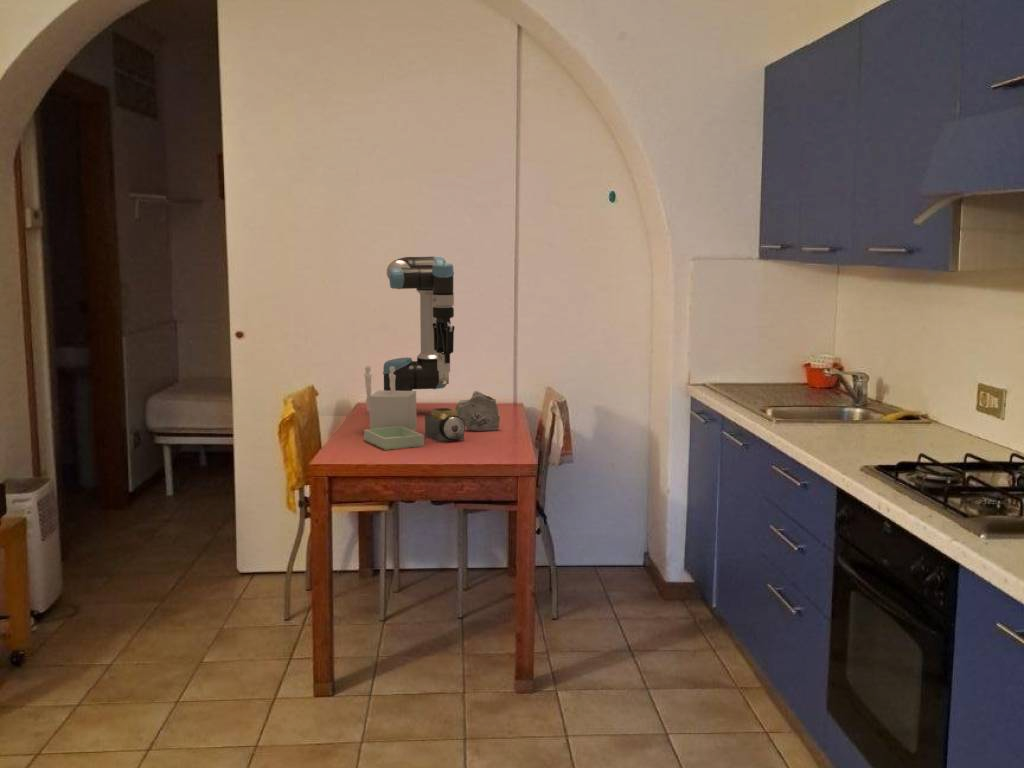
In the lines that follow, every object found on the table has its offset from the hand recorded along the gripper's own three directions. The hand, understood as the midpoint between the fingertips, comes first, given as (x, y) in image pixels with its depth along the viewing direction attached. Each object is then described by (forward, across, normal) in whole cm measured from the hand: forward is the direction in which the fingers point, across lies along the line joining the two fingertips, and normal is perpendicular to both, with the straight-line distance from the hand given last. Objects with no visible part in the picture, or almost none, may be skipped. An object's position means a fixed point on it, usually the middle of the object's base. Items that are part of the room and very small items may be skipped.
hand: (443, 371), depth 366 cm
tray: (+25, 0, -20) cm, 32 cm away
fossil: (+25, -7, +17) cm, 31 cm away
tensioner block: (+25, +2, 0) cm, 25 cm away
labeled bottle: (+5, 0, 0) cm, 5 cm away
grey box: (+25, -21, -13) cm, 35 cm away
